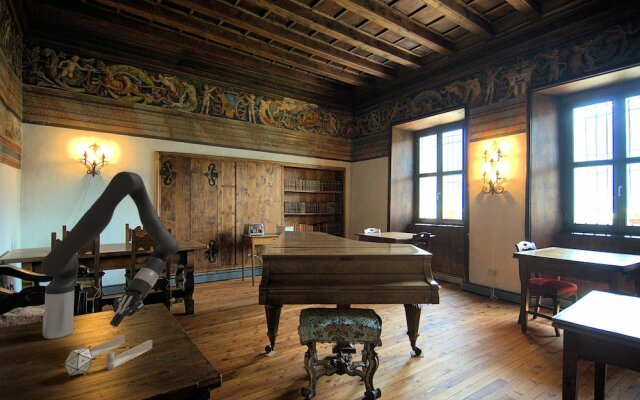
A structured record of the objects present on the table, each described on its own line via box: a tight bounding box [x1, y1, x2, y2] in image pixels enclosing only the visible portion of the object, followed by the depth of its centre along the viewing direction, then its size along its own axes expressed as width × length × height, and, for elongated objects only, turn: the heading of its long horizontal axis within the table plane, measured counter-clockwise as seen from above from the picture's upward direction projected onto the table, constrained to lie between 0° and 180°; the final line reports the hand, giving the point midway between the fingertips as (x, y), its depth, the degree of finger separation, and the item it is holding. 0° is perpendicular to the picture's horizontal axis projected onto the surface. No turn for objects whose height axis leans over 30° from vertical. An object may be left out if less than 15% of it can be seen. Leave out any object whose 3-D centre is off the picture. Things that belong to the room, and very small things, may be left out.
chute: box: [76, 334, 153, 371], centre depth 114 cm, size 15×18×5 cm
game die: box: [60, 345, 97, 379], centre depth 101 cm, size 9×8×10 cm
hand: (113, 325), depth 113 cm, fingers closed
